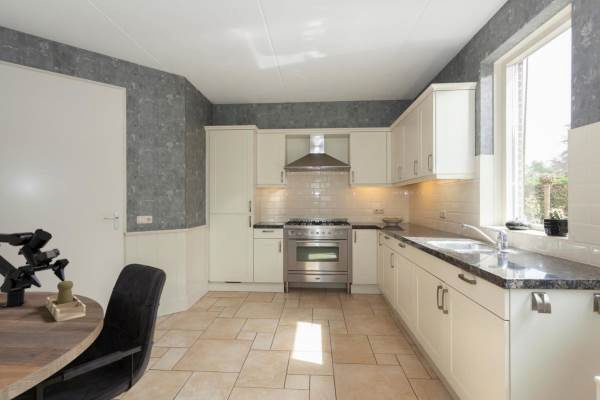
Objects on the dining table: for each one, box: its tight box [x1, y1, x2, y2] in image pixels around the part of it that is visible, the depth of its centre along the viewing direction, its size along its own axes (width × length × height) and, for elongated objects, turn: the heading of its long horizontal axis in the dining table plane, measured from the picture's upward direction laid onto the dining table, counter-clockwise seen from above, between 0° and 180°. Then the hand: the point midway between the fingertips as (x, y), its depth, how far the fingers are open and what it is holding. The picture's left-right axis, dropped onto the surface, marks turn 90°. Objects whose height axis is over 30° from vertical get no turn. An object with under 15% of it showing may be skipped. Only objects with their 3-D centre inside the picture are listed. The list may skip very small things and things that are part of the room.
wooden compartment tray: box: [45, 293, 86, 323], centre depth 122 cm, size 25×9×4 cm, turn 48°
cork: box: [56, 280, 74, 305], centre depth 122 cm, size 6×6×11 cm
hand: (52, 283), depth 123 cm, fingers open, 9 cm apart
